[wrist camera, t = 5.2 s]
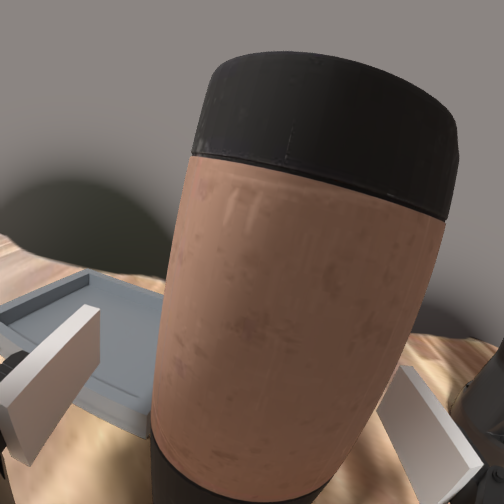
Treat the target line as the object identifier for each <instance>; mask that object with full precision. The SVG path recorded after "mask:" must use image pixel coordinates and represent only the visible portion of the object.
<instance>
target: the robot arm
mask: <svg viewBox="0 0 504 504" xmlns="http://www.w3.org/2000/svg"><path fill="white" fill-rule="evenodd" d="M99 364H100V309H99V308H96V307H92V306H89V305H86V304H84V305H83V306H82V307H81V308H80V309H78V310H77V311H76V312H75V313H74V314H73V315H72V316H70V317H69V318H68V319H67V320H66V321H65V322H64V323H63V324H62V325H60V326H59V327H58V328H57V329H56V330H55V331H54V332H53V333H52V334H50V335H49V336H48V337H47V338H46V339H45V340H44V341H43V342H42V343H41V344H40V345H39V346H37V347H36V348H35V349H34V350H33V351H32V352H31V353H28V352H26V351H24V350H21V351H19V352H16V353H14V354H11V355H10V356H9V357H8V358H7V359H6V360H5V361H3V363H2V364H0V504H15V501H14V498H13V494H12V491H11V487H10V483H9V479H8V475H7V471H6V466H5V461H4V457H3V455H2V451H3V450H4V449H5V447H6V446H7V448H8V451H9V453H10V455H11V457H13V458H15V459H16V460H18V461H20V462H22V463H23V464H25V465H27V466H29V467H30V466H31V465H32V463H33V461H34V460H35V458H36V457H37V455H38V454H39V452H40V450H41V449H42V447H43V446H44V444H45V443H46V441H47V439H48V438H49V436H50V435H51V433H52V432H53V430H54V429H55V427H56V426H57V424H58V423H59V421H60V420H61V418H62V417H63V415H64V414H65V412H66V411H67V409H68V408H69V406H70V405H71V403H72V402H73V400H74V399H75V398H76V396H77V395H78V393H79V392H80V390H81V389H82V387H83V386H84V385H85V383H86V382H87V380H88V379H89V378H90V376H91V375H92V373H93V372H94V370H95V369H96V368H97V366H98V365H99ZM376 411H377V413H378V415H379V417H380V420H381V422H382V424H383V426H384V428H385V430H386V432H387V434H388V436H389V438H390V440H391V442H392V444H393V446H394V449H395V451H396V453H397V455H398V457H399V459H400V461H401V463H402V466H403V468H404V470H405V472H406V474H407V476H408V479H409V481H410V483H411V485H412V487H413V489H414V492H415V494H416V496H417V498H418V501H419V503H420V504H448V503H449V502H450V504H504V338H503V340H502V343H501V345H500V347H499V349H498V350H497V352H496V353H495V355H494V356H493V357H492V358H491V359H490V360H489V361H488V363H487V364H486V365H485V366H484V367H483V368H482V369H481V371H480V372H479V373H478V374H477V375H476V377H475V378H474V379H473V380H472V381H470V382H469V383H467V384H466V385H465V386H464V387H463V389H462V390H461V391H460V393H459V395H458V397H457V398H456V400H455V402H454V403H453V405H452V407H451V412H450V415H449V414H448V413H447V411H446V410H445V409H444V407H443V406H442V405H441V403H440V402H439V401H438V399H437V398H436V396H435V395H434V394H433V392H432V391H431V390H430V388H429V387H428V386H427V385H426V383H425V382H424V381H423V379H422V378H421V377H420V375H419V374H418V373H417V371H416V370H415V369H414V368H413V366H402V365H400V366H399V368H398V370H397V372H396V374H395V376H394V378H393V380H392V382H391V384H390V386H389V388H388V390H387V392H386V394H385V395H384V397H383V399H382V401H381V403H380V405H379V407H378V408H377V410H376ZM450 416H451V417H450Z"/></svg>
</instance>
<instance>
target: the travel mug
mask: <svg viewBox="0 0 504 504" xmlns="http://www.w3.org/2000/svg"><path fill="white" fill-rule="evenodd" d="M457 139H458V137H457V127H456V123H455V120H454V118H453V116H452V115H451V113H450V112H449V111H448V110H447V108H446V107H445V106H443V105H442V104H441V103H440V102H439V101H438V100H437V99H435V98H434V97H432V96H431V95H429V94H428V93H426V92H425V91H424V90H422V89H420V88H418V87H417V86H415V85H413V84H411V83H409V82H408V81H406V80H404V79H402V78H399V77H397V76H395V75H393V74H390V73H388V72H386V71H383V70H380V69H378V68H375V67H372V66H369V65H366V64H363V63H359V62H356V61H352V60H348V59H344V58H339V57H335V56H329V55H323V54H316V53H307V52H293V51H274V52H261V53H253V54H248V55H243V56H239V57H236V58H233V59H230V60H228V61H226V62H224V63H223V64H221V65H220V66H219V67H218V68H217V69H216V70H215V72H214V73H213V75H212V77H211V80H210V83H209V85H208V89H207V93H206V96H205V100H204V103H203V107H202V111H201V115H200V119H199V123H198V126H197V130H196V134H195V138H194V143H193V147H192V151H191V153H192V156H191V157H190V160H189V164H188V169H187V173H186V177H185V182H184V187H183V192H182V196H181V201H180V206H179V211H178V216H177V221H176V226H175V232H174V237H173V242H172V248H171V255H170V260H169V266H168V272H167V278H166V284H165V291H164V298H163V305H162V312H161V319H160V327H159V335H158V343H157V352H156V361H155V371H154V381H153V392H152V404H151V423H150V439H151V476H152V495H153V504H311V503H312V502H313V501H314V499H315V498H316V497H317V496H318V495H319V493H320V492H321V491H322V490H323V488H324V487H325V486H326V485H327V483H328V482H329V481H330V480H331V478H332V477H333V475H334V474H335V473H336V472H337V470H338V469H339V467H340V466H341V464H342V463H343V461H344V459H345V458H346V456H347V455H348V453H349V452H350V450H351V448H352V447H353V445H354V444H355V442H356V440H357V439H358V437H359V435H360V433H361V432H362V430H363V428H364V427H365V425H366V423H367V421H368V420H369V418H370V416H371V414H372V412H373V410H374V409H375V407H376V405H377V403H378V401H379V399H380V397H381V395H382V393H383V391H384V389H385V387H386V385H387V383H388V381H389V379H390V377H391V375H392V373H393V371H394V369H395V367H396V364H397V362H398V360H399V358H400V356H401V353H402V351H403V349H404V346H405V344H406V342H407V339H408V337H409V335H410V332H411V330H412V327H413V325H414V322H415V320H416V317H417V314H418V312H419V309H420V306H421V303H422V301H423V298H424V295H425V292H426V290H427V287H428V284H429V281H430V278H431V275H432V272H433V268H434V265H435V262H436V259H437V255H438V251H439V248H440V244H441V241H442V237H443V234H444V229H445V225H446V224H445V220H447V218H448V214H449V210H450V205H451V200H452V196H453V190H454V186H455V180H456V176H457V169H458V164H459V150H458V140H457Z"/></svg>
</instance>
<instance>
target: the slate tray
mask: <svg viewBox="0 0 504 504" xmlns="http://www.w3.org/2000/svg"><path fill="white" fill-rule="evenodd" d="M163 298H164V295H162V294H159V293H156V292H153V291H150V290H147V289H144V288H141V287H138V286H135V285H133V284H130V283H127V282H124V281H121V280H118V279H115V278H113V277H110V276H107V275H104V274H102V273H99V272H96V271H94V270H91V269H88V268H87V269H85V270H82V271H80V272H77V273H75V274H72V275H70V276H68V277H65V278H63V279H60V280H58V281H56V282H53V283H51V284H49V285H46V286H44V287H41V288H39V289H37V290H34V291H32V292H30V293H28V294H25V295H23V296H21V297H18V298H16V299H14V300H12V301H9V302H7V303H5V304H3V305H0V355H1V356H3V357H4V358H5V359H7V358H8V357H9V356H10V355H11V354H14V353H16V352H19V351H21V350H24V351H26V352H28V353H31V352H32V351H33V350H34V349H35V348H36V347H37V346H39V345H40V344H41V343H42V342H43V341H44V340H45V339H46V338H47V337H48V336H49V335H50V334H52V333H53V332H54V331H55V330H56V329H57V328H58V327H59V326H60V325H62V324H63V323H64V322H65V321H66V320H67V319H68V318H69V317H70V316H72V315H73V314H74V313H75V312H76V311H77V310H78V309H80V308H81V307H82V306H83V305H84V304H86V305H89V306H92V307H96V308H99V309H100V364H99V365H98V366H97V368H96V369H95V370H94V372H93V373H92V375H91V376H90V378H89V379H88V380H87V382H86V383H85V385H84V386H83V387H82V389H81V390H80V392H79V393H78V395H77V396H76V398H75V399H74V400H73V402H72V403H73V404H75V405H77V406H78V407H80V408H82V409H84V410H86V411H87V412H89V413H91V414H93V415H95V416H97V417H99V418H101V419H103V420H105V421H107V422H109V423H111V424H113V425H115V426H117V427H119V428H121V429H123V430H125V431H127V432H130V433H132V434H134V435H136V436H138V437H141V438H143V439H145V440H146V439H147V437H148V436H149V434H150V423H151V404H152V392H153V381H154V371H155V361H156V352H157V343H158V335H159V327H160V319H161V312H162V305H163Z"/></svg>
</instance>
